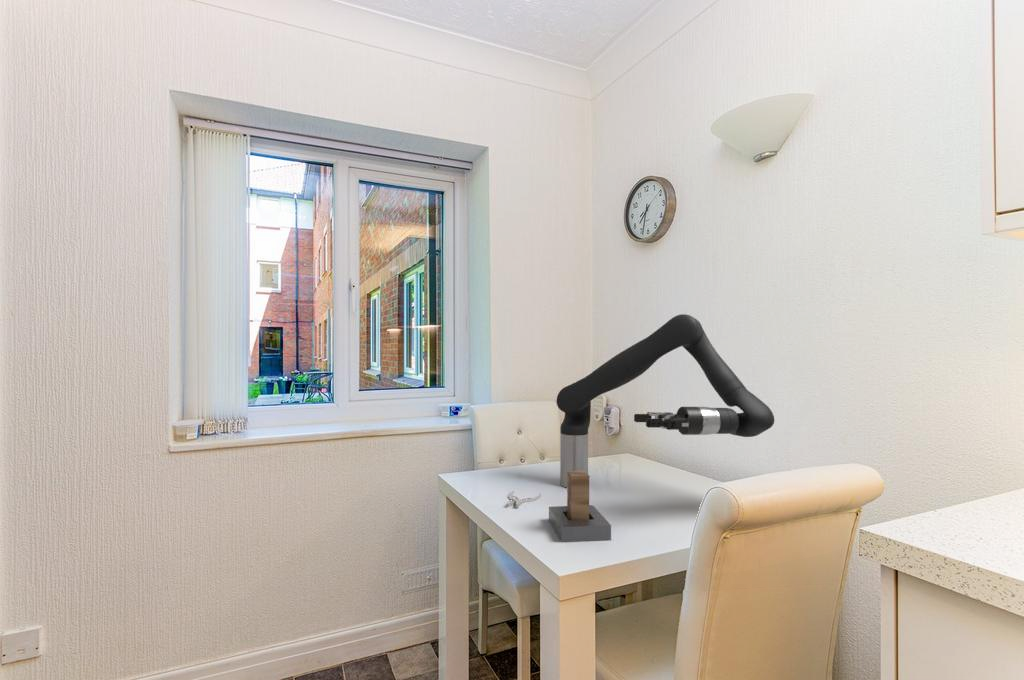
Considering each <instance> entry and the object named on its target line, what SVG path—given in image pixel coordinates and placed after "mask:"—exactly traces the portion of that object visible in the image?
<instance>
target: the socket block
mask: <svg viewBox="0 0 1024 680" xmlns="http://www.w3.org/2000/svg"><path fill="white" fill-rule="evenodd" d="M548 521H549V523H550V525H551V527H552V528H553V530H554V532H555V534H556V535H557V537H558V540H560V542H561V543H572V542H573V543H576V542H596V541H597V542H599V541H612V524H610V522H609V521H608V520H607V519H606V518H605V517H604V515H602V513H601V512H600V511H599V510H598V509H597V508H596V507H595V506H594V504H591V505H590V504H589V520H568V519H567V505H561V506H558V505H555V506H548Z"/></svg>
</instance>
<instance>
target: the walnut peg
mask: <svg viewBox="0 0 1024 680" xmlns="http://www.w3.org/2000/svg"><path fill="white" fill-rule="evenodd" d="M566 489H567V490H566V492H567V493H566V494H567V496H566V497H567V499H566V504H567V505H566V506H567V519H568V520H589V505H590V475H589V473H588V474H587V473H586V472H585V471H567V487H566Z"/></svg>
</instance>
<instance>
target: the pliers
mask: <svg viewBox="0 0 1024 680" xmlns="http://www.w3.org/2000/svg"><path fill="white" fill-rule="evenodd" d="M513 493H514V494H515V491H514V490H512V491H510V493H509V494H508V496H507V497H509V498H508V500H509V499H510V500H509V501H508V502H506V507H509V508H511V507H513V506H515V509H516V510H518V509H519V508H520V507H519V506H520V505H523V504H526V503H531V501H532V502H535V501H537V500H539V499H540V498H541V497H542V494H541V493H540V494H538V495H536V496H535V497H525V498H522V499H521V498H519V497H518V496H515V495H514V494H513ZM513 497H515V498H513ZM526 499H527V500H526ZM511 500H512V501H511ZM525 502H526V503H525ZM512 505H513V506H512ZM510 506H511V507H510Z"/></svg>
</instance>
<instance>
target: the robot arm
mask: <svg viewBox="0 0 1024 680" xmlns="http://www.w3.org/2000/svg"><path fill="white" fill-rule="evenodd" d="M680 347H683V349H685V350H686V352H688V354H690V355H691V357H692V358H694V359H695V361H696V363H697V364H698V365H699V367H700V368H701V370H702V371H703V373H704V375H705V377H706V378H707V380H708V383H710V385H711V387H712V388H713V390H714V391H715V392H716V393H717V395H718V396H719V397H720V399H721V400H722V401H723V403H725V405H726V406H728V407H729V408H728V407H709V406H680V407H679V408H678V409H677V411H676V413H673V412H671V411H668V412H667V411H666V412H665V411H664V412H661V411H660V412H652V411H651V412H650V411H647V412H646V413H635V414H633V420H634V422H635V423H645V426H646V428H654V429H655V428H656V429H657V428H658V429H659V428H660V429H666V430H668V431H669V430H672V431H673V430H674V431H675V430H677V431H678V432H679V433H680V434H681V435H683V436H684V435H685V436H691V435H692V436H706V435H708V436H709V435H718V434H719V435H729V434H730V435H732V436H738V437H742V438H750V437H751V438H753V437H756V436H757V437H758V436H759V435H761V434H762V433H764V432H766V431H768V430H769V429H771V428H772V427H773V426H774V424H775V416H774V414H773V411H772V410H771V408H770V407H769V406H768V405H767V404H766V403H765V402H764V401H762V400H761V399H760V398H759V397H757V396H756V395H755V394H754V393H752V392H751V391H750V390H748V388H747V387H746V386H745V385H744V384H743V382H742V381H741V380H740V378H739V377H738V376H737V375H736V374H735V372H734V371H733V370H732V369H731V368H730V366H728V364H727V363H726V362H725V360H723V358H722V357H721V355H720V354H719V353H718V352H717V351H716V349H715V348H714V346H713V344H712V343H711V341H710V339H709V338H708V336H707V334H706V332H705V330H704V329H703V326H702V324H701V322H700V321H699V320H698V319H697V318H696V317H694V316H692V315H690V314H687V313H686V314H683V313H682V314H678V315H675V316H673V317H672V318H670V319H669V320H668V321H667V322H665V323H664V324H663V325H662V326H660V327H659V328H657V330H655V331H654V332H652V333H651V334H650V335H649V336H647V337H645V338H643V339H641V340H639V341H638V342H636V343H634V344H632V345H631V346H629V347H628V348H626V349H624V350H622V351H621V352H619V353H617V354H616V355H614V356H613V357H611V358H610V359H608V360H607V361H605V362H604V363H603V364H601V365H600V366H599V367H597V368H596V369H594V370H593V371H592V372H591V373H590V374H588V375H586V376H585V377H583V378H581V379H578V380H577V381H576V382H573V383H571V384H569V385H567V386H565V387H563V388H562V389H560V391H559V392H558V394H557V396H556V406H557V408H558V409H559V411H561V412H563V413H564V418H563V421H562V423H561V424H560V435H559V436H560V438H559V442H560V443H559V444H560V447H559V448H560V449H559V450H560V455H559V457H560V461H559V465H560V466H559V467H560V468H559V469H560V473H559V477H560V478H559V481H560V482H559V483H560V486H561V487H563V488H567V471H585V472H586V473H587V474H588V475H589V428H590V424H591V414H592V413H591V411H592V410H591V409H592V407H591V406H592V403H591V402H592V400H595V398H597V397H599V396H602V395H603V394H605V393H608V392H611V391H613V390H615V389H618V388H620V387H622V386H624V385H626V384H628V383H630V382H632V381H634V380H635V379H636V378H638V377H640V376H641V375H643V374H644V373H646V372H647V370H649V369H650V368H651V367H652V366H653V365H654V364H655V362H657V361H658V360H659V359H661V358H662V357H663V356H665V355H666V354H668V353H670V352H672V351H674V350H676V349H678V348H680ZM734 407H738V408H739V409H740V411H742V412H736V410H734V409H733V408H734ZM652 416H653V417H654V418H652Z"/></svg>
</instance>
